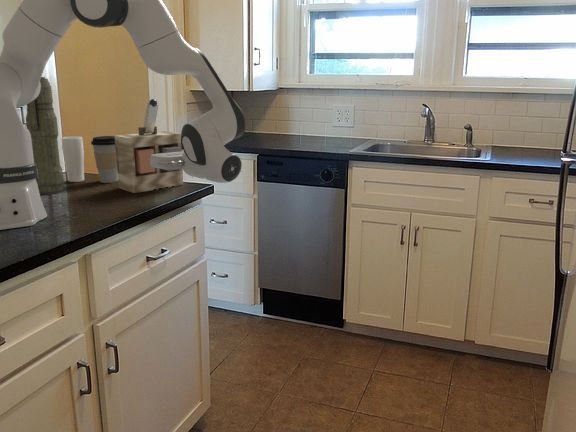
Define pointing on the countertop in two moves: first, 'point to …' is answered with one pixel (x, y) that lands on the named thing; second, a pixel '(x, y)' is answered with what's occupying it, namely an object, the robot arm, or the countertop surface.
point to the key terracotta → (143, 160)
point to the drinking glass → (73, 157)
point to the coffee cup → (105, 158)
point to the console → (127, 167)
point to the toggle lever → (150, 116)
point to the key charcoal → (171, 149)
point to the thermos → (45, 140)
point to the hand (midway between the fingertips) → (171, 155)
